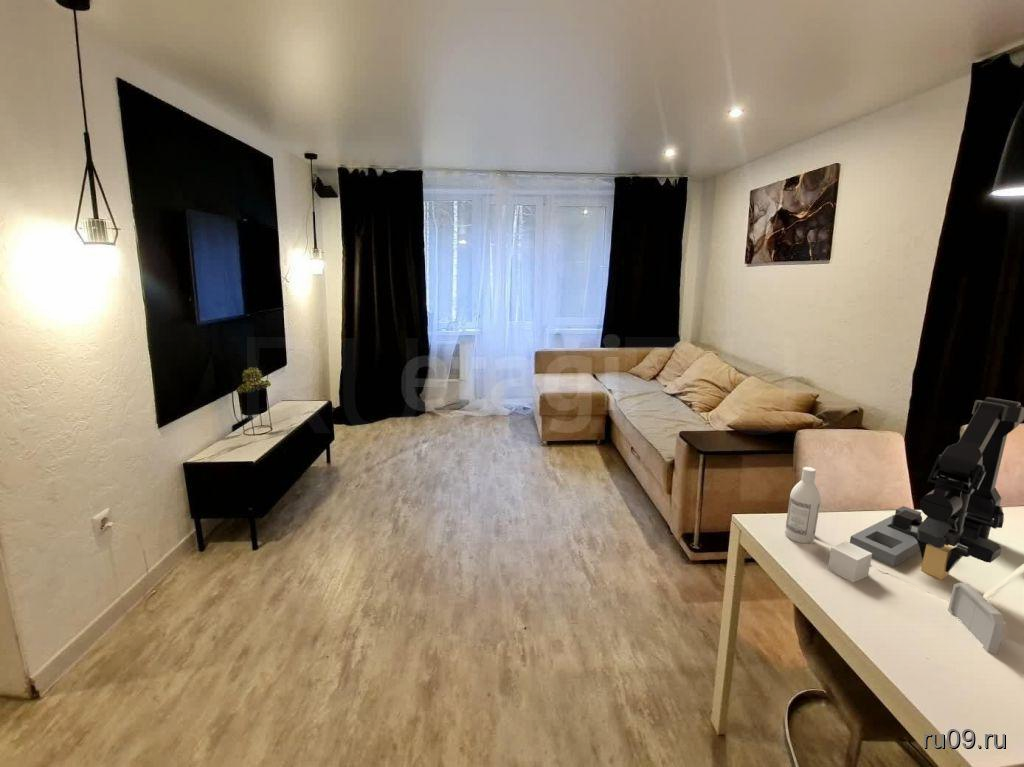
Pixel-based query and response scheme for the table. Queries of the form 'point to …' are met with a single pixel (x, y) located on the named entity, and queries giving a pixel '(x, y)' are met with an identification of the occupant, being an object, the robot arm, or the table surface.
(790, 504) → the bath foam
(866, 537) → the grey piece
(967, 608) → the light switch
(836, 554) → the white cube
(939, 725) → the table surface
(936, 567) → the amber plug
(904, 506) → the dark gray plug
